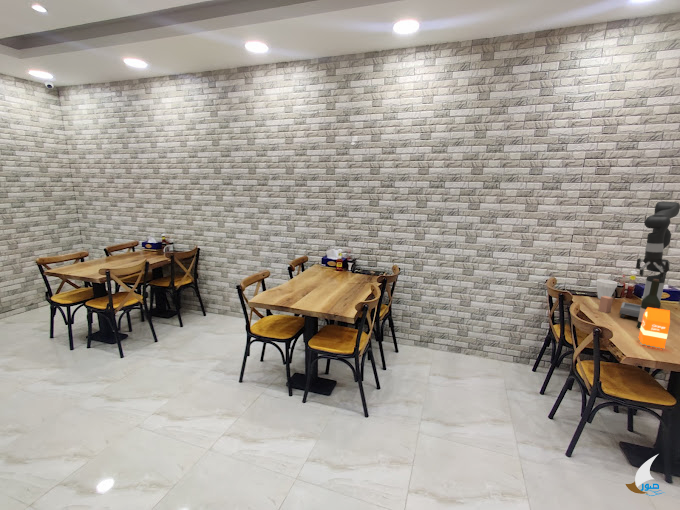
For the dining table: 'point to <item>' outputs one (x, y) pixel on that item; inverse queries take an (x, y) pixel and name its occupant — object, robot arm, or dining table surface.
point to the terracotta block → (605, 304)
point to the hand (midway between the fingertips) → (651, 276)
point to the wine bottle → (649, 301)
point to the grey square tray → (630, 309)
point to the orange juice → (655, 327)
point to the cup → (605, 287)
